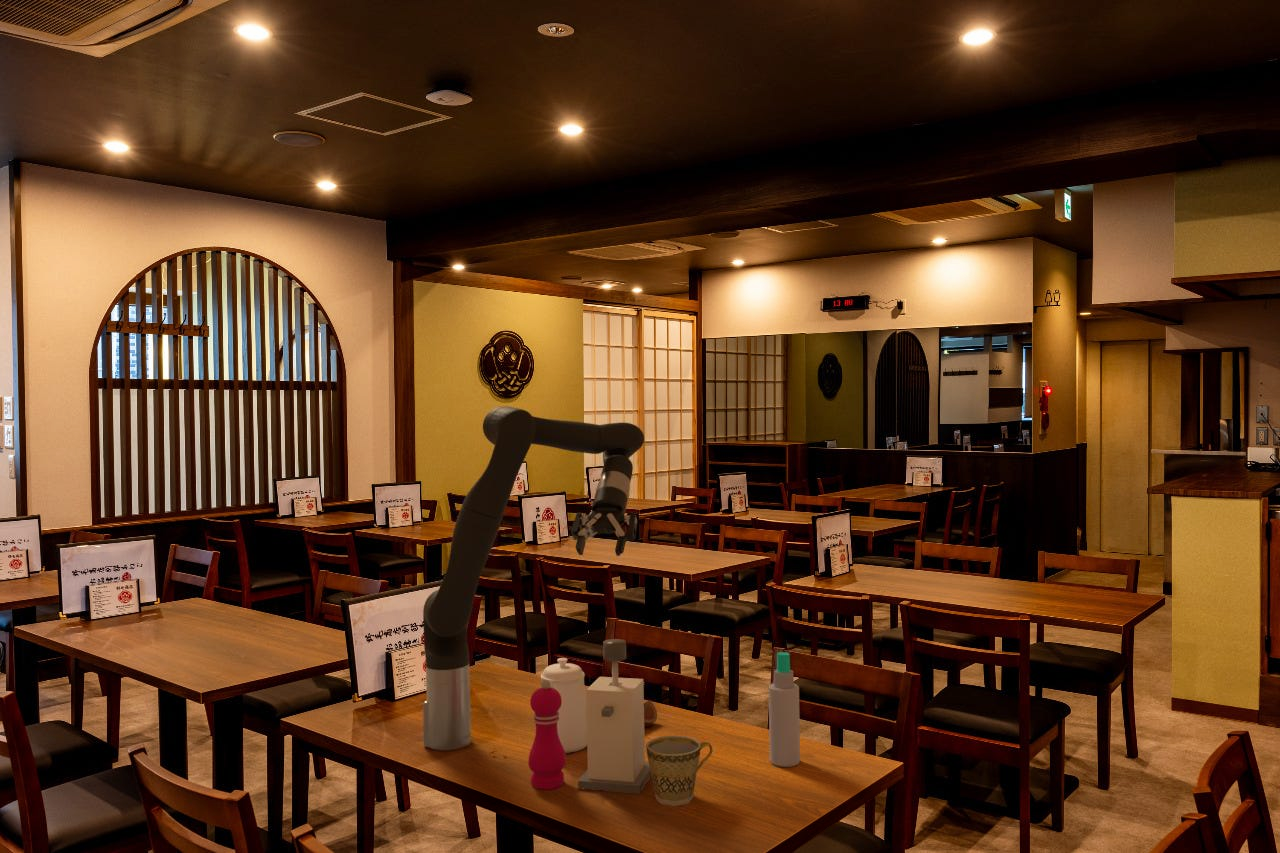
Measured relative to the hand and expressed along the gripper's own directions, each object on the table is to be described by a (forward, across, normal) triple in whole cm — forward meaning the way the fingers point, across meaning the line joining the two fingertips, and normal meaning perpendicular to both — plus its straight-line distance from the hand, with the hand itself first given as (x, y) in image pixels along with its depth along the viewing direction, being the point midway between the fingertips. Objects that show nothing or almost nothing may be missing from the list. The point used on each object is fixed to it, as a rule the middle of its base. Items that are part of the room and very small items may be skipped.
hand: (598, 553), depth 205 cm
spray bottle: (+33, +40, +25) cm, 57 cm away
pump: (+39, +9, +10) cm, 41 cm away
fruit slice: (+22, +6, +36) cm, 43 cm away
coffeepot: (+33, -7, +25) cm, 42 cm away
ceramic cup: (+48, +23, +10) cm, 54 cm away
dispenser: (+43, +9, +14) cm, 47 cm away
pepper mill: (+47, -4, +11) cm, 48 cm away
